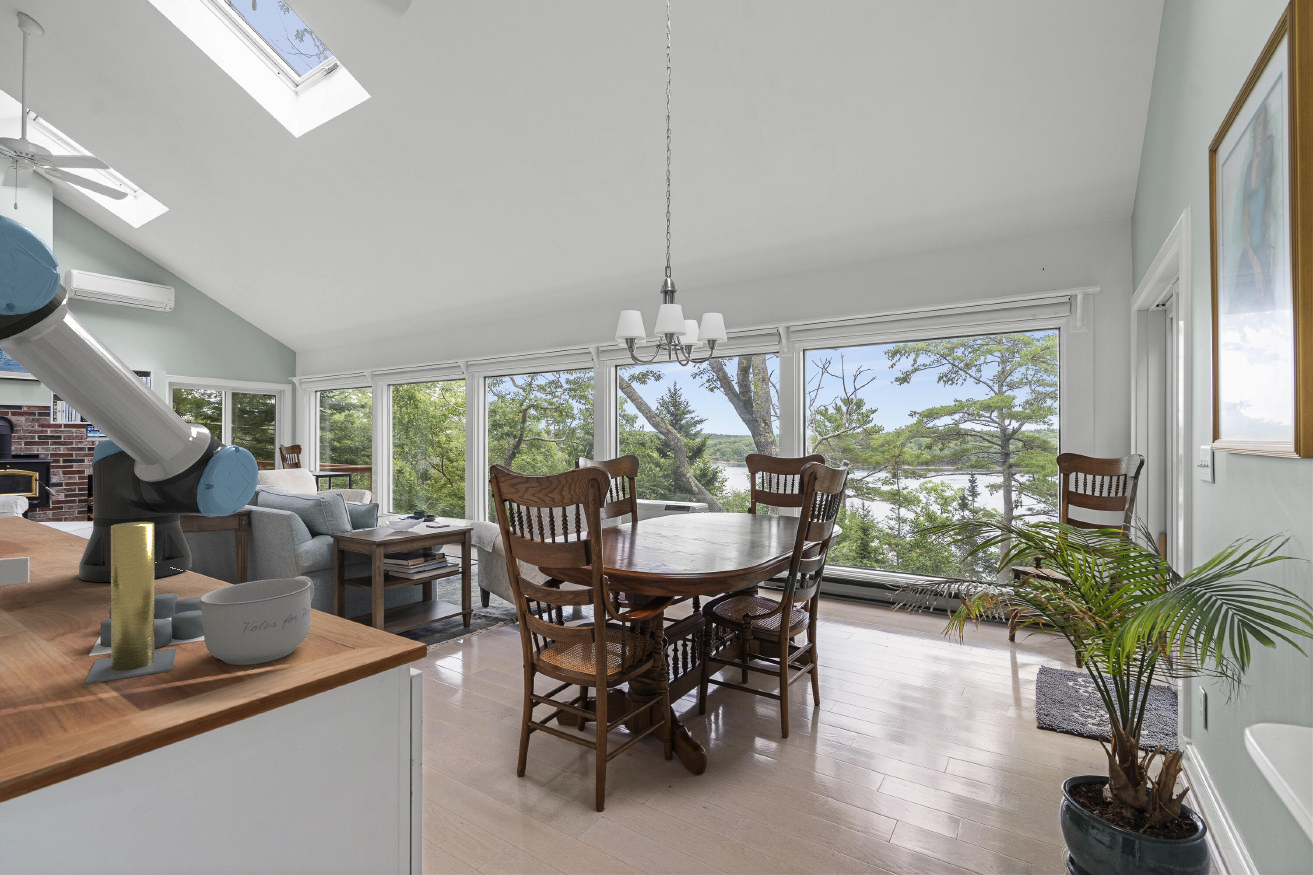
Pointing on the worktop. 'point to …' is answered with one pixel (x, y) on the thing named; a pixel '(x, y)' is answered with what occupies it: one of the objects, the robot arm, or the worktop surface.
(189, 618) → the mat
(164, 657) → the slate coaster
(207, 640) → the teacup
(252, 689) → the worktop surface
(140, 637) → the cylinder
